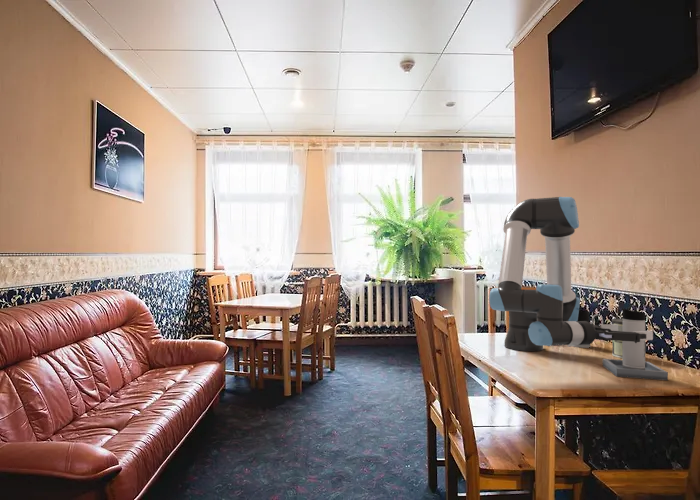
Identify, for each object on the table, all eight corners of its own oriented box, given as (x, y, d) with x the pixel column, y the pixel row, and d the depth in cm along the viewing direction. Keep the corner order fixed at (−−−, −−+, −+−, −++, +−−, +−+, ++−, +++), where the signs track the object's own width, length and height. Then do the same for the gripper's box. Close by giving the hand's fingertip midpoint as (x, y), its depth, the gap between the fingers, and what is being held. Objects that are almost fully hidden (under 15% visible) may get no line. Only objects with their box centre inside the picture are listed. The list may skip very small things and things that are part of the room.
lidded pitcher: (564, 343, 186) (564, 309, 186) (598, 344, 185) (598, 310, 185) (573, 347, 177) (573, 312, 178) (608, 348, 176) (608, 313, 176)
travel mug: (617, 366, 141) (617, 307, 141) (637, 367, 141) (637, 308, 141) (629, 371, 135) (629, 310, 135) (649, 372, 135) (649, 310, 135)
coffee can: (606, 353, 167) (606, 318, 167) (634, 354, 166) (633, 318, 166) (620, 359, 156) (620, 321, 157) (650, 360, 155) (649, 322, 156)
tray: (616, 376, 133) (616, 368, 133) (602, 365, 146) (602, 358, 146) (667, 380, 129) (667, 372, 129) (648, 369, 143) (648, 361, 143)
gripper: (551, 337, 146) (604, 336, 150) (607, 353, 122) (668, 351, 126) (551, 316, 147) (604, 315, 150) (606, 327, 122) (668, 326, 126)
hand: (633, 331), depth 138 cm, fingers open, 13 cm apart
